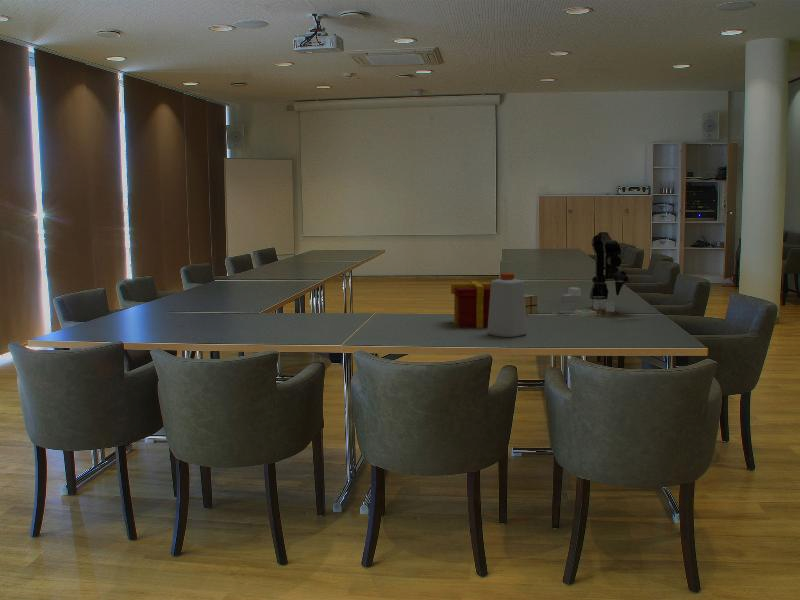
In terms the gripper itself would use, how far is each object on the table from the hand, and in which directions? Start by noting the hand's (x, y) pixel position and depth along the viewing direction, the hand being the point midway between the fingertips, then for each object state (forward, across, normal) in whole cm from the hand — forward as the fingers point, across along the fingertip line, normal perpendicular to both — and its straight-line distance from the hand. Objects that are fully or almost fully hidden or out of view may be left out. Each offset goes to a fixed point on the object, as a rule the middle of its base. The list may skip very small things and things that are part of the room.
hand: (610, 295), depth 411 cm
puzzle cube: (+11, -34, +29) cm, 46 cm away
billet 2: (+10, 0, 0) cm, 10 cm away
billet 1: (+10, 0, +9) cm, 13 cm away
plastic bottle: (+12, -74, -23) cm, 78 cm away
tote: (+11, -17, +15) cm, 25 cm away
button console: (+11, -11, +6) cm, 17 cm away
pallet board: (+11, 0, +5) cm, 12 cm away
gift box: (+12, -73, +9) cm, 74 cm away
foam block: (+12, +14, +58) cm, 61 cm away
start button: (+10, -11, +6) cm, 16 cm away
